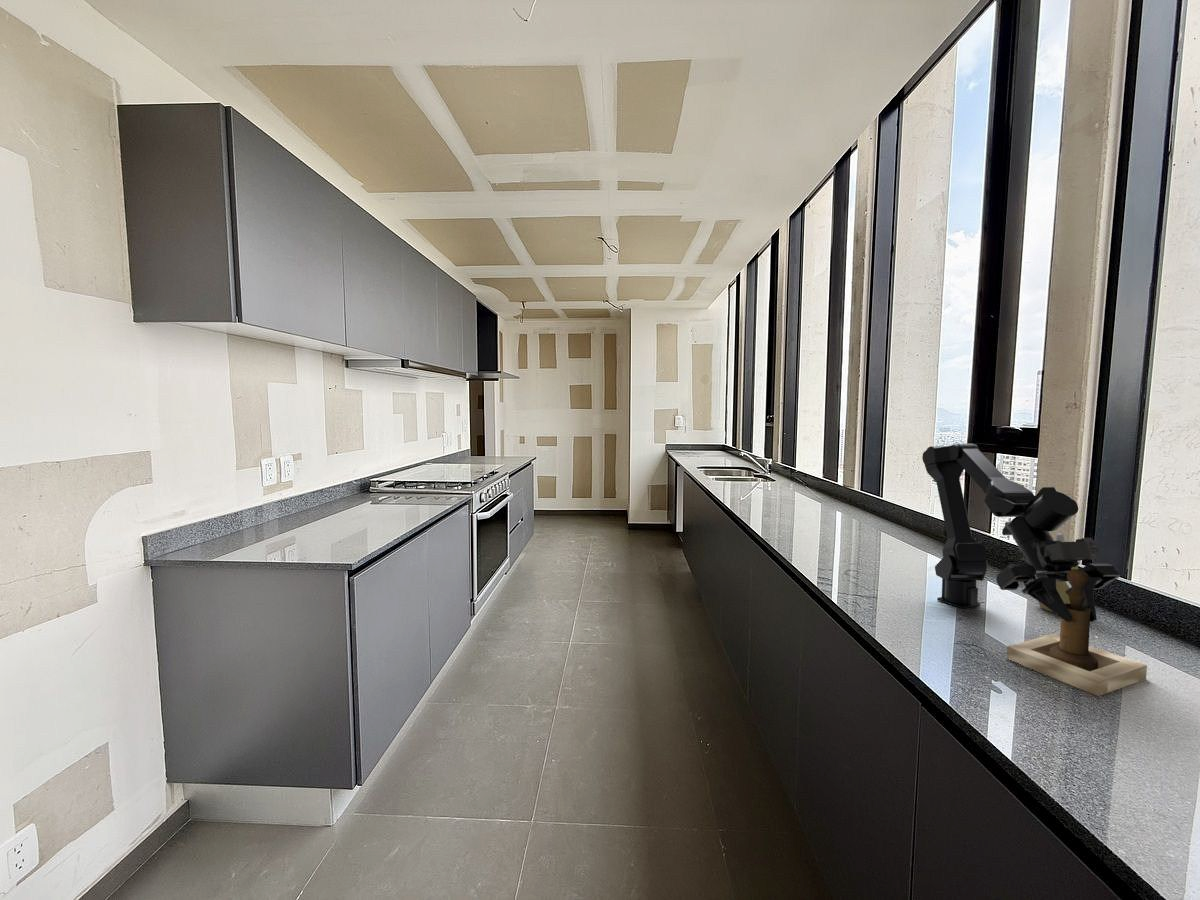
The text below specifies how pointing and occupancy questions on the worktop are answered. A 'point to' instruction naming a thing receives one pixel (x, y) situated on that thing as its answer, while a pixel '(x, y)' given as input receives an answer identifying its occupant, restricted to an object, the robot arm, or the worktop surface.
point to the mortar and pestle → (1076, 627)
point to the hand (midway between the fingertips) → (1081, 620)
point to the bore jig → (1098, 682)
